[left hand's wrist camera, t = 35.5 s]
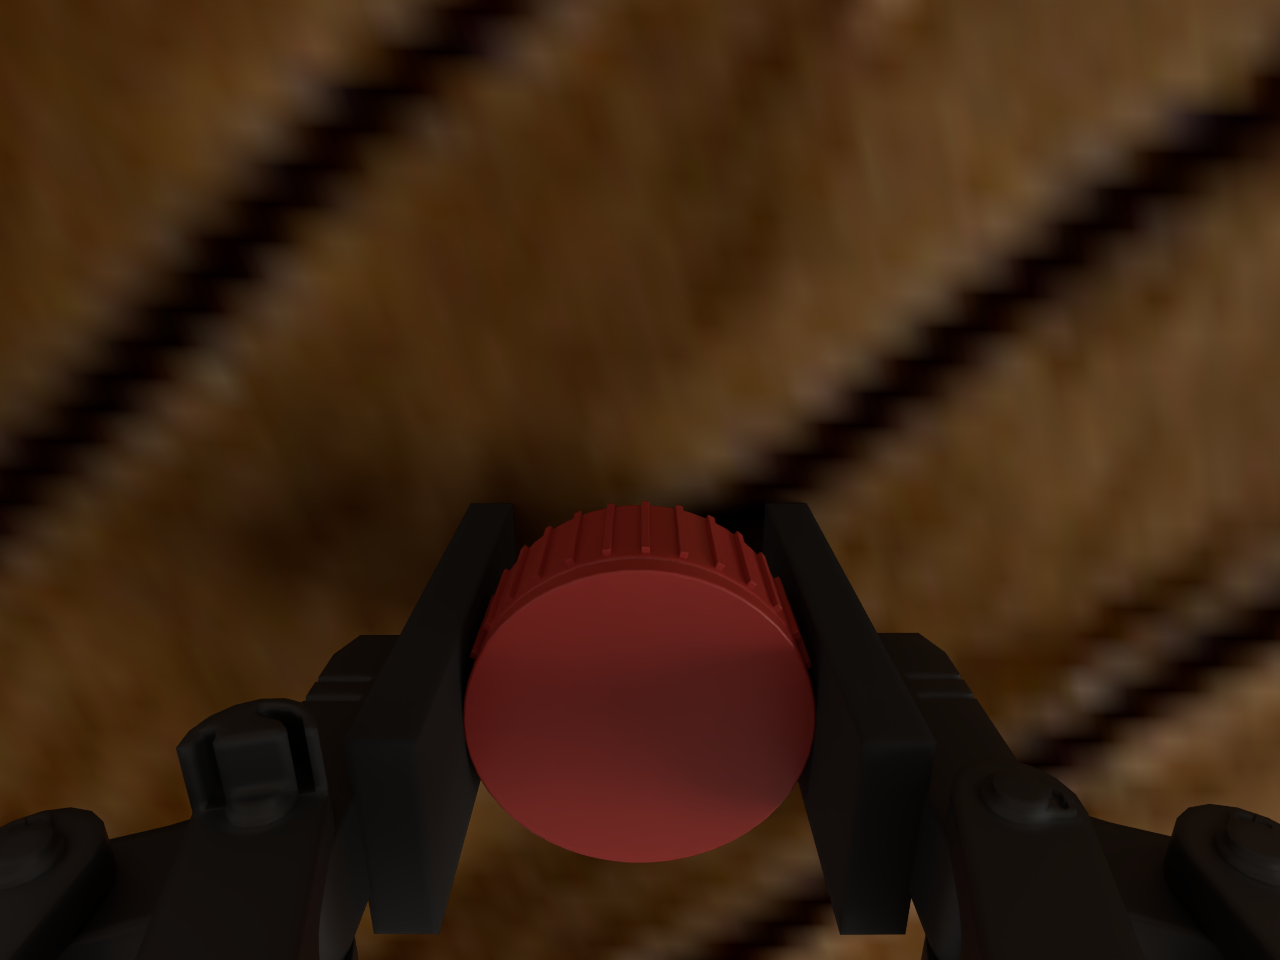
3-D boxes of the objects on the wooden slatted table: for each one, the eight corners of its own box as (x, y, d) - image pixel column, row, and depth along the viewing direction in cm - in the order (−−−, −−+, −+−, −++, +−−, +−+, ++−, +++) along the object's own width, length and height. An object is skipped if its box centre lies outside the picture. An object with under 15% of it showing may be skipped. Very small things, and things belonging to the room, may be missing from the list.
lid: (684, 436, 11) (693, 492, 9) (847, 674, 12) (888, 769, 10) (424, 602, 12) (380, 687, 10) (602, 805, 13) (596, 916, 11)
